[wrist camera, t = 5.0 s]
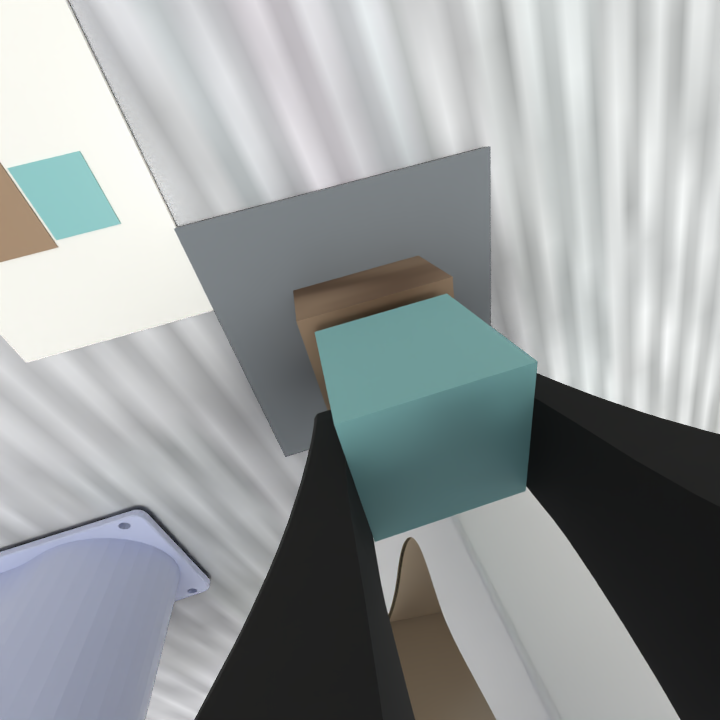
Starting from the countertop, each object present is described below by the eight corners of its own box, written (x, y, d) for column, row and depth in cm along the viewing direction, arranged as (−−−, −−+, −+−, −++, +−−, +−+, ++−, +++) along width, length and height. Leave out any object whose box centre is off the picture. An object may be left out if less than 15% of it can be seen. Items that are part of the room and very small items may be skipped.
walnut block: (327, 392, 15) (337, 438, 13) (293, 290, 12) (296, 321, 10) (430, 361, 15) (460, 399, 13) (418, 255, 13) (452, 276, 10)
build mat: (285, 451, 17) (285, 456, 16) (177, 227, 11) (173, 228, 11) (486, 388, 18) (490, 392, 17) (484, 147, 12) (490, 146, 11)
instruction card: (28, 360, 12) (24, 363, 12) (-267, 30, 7) (-281, 27, 7) (216, 308, 13) (215, 310, 12) (50, -35, 8) (45, -39, 8)
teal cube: (347, 431, 11) (375, 541, 8) (314, 331, 9) (334, 424, 6) (454, 397, 12) (525, 491, 8) (446, 293, 10) (537, 361, 6)
